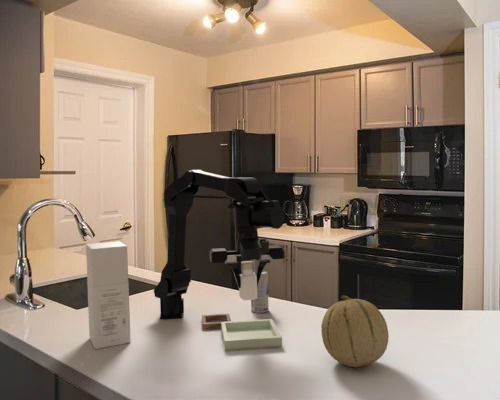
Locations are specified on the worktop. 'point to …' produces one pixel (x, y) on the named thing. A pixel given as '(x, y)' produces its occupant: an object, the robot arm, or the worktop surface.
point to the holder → (213, 318)
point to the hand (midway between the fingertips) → (247, 287)
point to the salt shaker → (248, 281)
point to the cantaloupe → (354, 332)
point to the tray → (250, 335)
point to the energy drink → (261, 295)
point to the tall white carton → (108, 294)
